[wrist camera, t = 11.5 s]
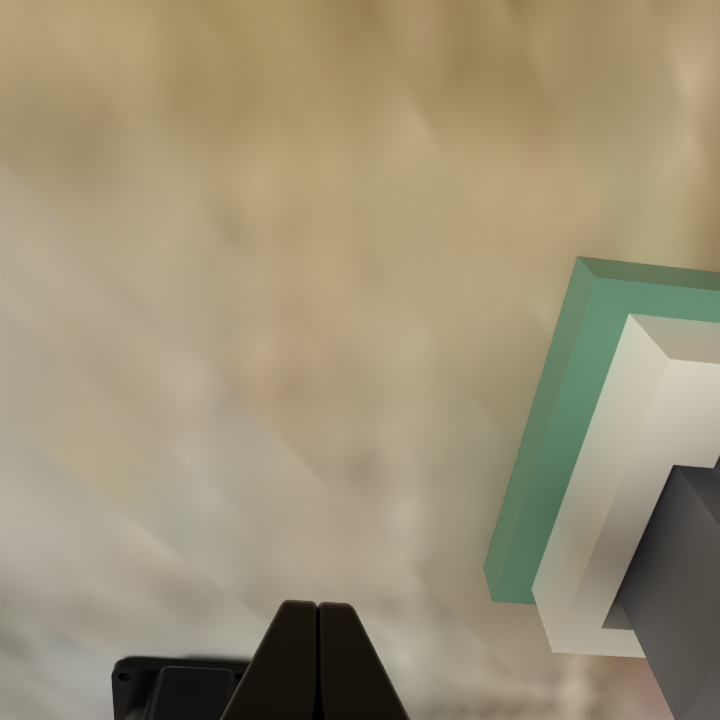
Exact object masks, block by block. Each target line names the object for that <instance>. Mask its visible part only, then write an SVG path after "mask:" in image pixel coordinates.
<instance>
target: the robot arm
mask: <svg viewBox="0 0 720 720" xmlns="http://www.w3.org/2000/svg"><path fill="white" fill-rule="evenodd" d="M111 678H112V692H113V706H114V720H410V719H409V717H408V715H407V713H406V711H405V709H404V707H403V705H402V703H401V701H400V699H399V697H398V695H397V693H396V691H395V689H394V687H393V685H392V683H391V681H390V679H389V677H388V675H387V673H386V671H385V669H384V667H383V665H382V663H381V661H380V659H379V657H378V655H377V653H376V651H375V649H374V647H373V645H372V643H371V641H370V639H369V637H368V635H367V633H366V631H365V629H364V627H363V625H362V623H361V621H360V619H359V617H358V615H357V613H356V611H355V609H354V608H353V607H352V606H351V605H350V604H347V603H334V602H322V603H320V604H319V605H318V607H317V605H316V603H314V602H312V601H300V600H286V601H284V602H283V603H282V604H281V606H280V607H279V609H278V611H277V613H276V615H275V617H274V619H273V620H272V622H271V624H270V626H269V628H268V630H267V632H266V634H265V636H264V637H263V639H262V641H261V643H260V645H259V647H258V649H257V651H256V653H255V655H254V656H253V658H252V660H251V662H250V664H249V665H232V664H212V663H193V662H173V661H154V660H135V659H122V660H120V661H117V662H116V663H115V666H114V669H113V672H112V676H111Z"/></svg>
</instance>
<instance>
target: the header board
mask: <svg viewBox="0 0 720 720" xmlns="http://www.w3.org/2000/svg"><path fill="white" fill-rule="evenodd" d="M719 456H720V273H717V272H708V271H699V270H690V269H682V268H673V267H664V266H655V265H647V264H638V263H629V262H620V261H611V260H603V259H594V258H585V257H577V260H576V263H575V267H574V270H573V273H572V277H571V280H570V283H569V287H568V290H567V293H566V297H565V300H564V303H563V307H562V310H561V313H560V317H559V320H558V323H557V327H556V330H555V333H554V337H553V340H552V343H551V347H550V350H549V353H548V357H547V360H546V363H545V367H544V370H543V373H542V377H541V380H540V383H539V387H538V390H537V393H536V397H535V400H534V403H533V407H532V410H531V413H530V417H529V420H528V423H527V427H526V430H525V433H524V437H523V440H522V443H521V446H520V450H519V453H518V456H517V460H516V463H515V466H514V470H513V473H512V476H511V480H510V483H509V486H508V490H507V493H506V496H505V500H504V503H503V506H502V510H501V513H500V516H499V520H498V523H497V526H496V530H495V533H494V536H493V540H492V543H491V546H490V550H489V553H488V556H487V560H486V563H485V566H484V571H485V575H486V579H487V582H488V586H489V590H490V594H491V598H492V601H494V602H510V603H526V604H536V605H537V608H538V611H539V614H540V617H541V620H542V623H543V626H544V629H545V632H546V635H547V638H548V641H549V644H550V647H551V650H552V653H569V654H587V655H605V656H623V657H641V658H646V656H645V654H644V652H643V650H642V648H641V646H640V643H639V641H638V639H637V637H636V635H635V633H634V630H633V628H632V626H631V624H630V622H629V620H628V618H627V615H626V613H625V611H624V609H623V607H622V605H621V602H620V600H619V598H618V596H617V591H618V589H619V587H620V585H621V582H622V580H623V578H624V576H625V573H626V571H627V569H628V566H629V564H630V562H631V560H632V557H633V555H634V553H635V551H636V548H637V546H638V544H639V542H640V539H641V537H642V535H643V532H644V530H645V528H646V526H647V523H648V521H649V519H650V517H651V514H652V512H653V510H654V507H655V505H656V503H657V501H658V498H659V496H660V494H661V492H662V489H663V487H664V485H665V482H666V480H667V478H668V476H669V473H670V471H671V469H672V467H673V465H682V466H694V467H706V468H714V466H715V464H716V462H717V460H718V458H719Z"/></svg>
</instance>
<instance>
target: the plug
mask: <svg viewBox="0 0 720 720" xmlns="http://www.w3.org/2000/svg"><path fill="white" fill-rule="evenodd" d="M617 596H618V598H619V600H620V602H621V605H622V607H623V609H624V611H625V613H626V615H627V618H628V620H629V622H630V624H631V626H632V628H633V630H634V633H635V635H636V637H637V639H638V641H639V643H640V646H641V648H642V650H643V652H644V654H645V656H646V658H647V661H648V663H649V665H650V667H651V669H652V671H653V674H654V676H655V678H656V680H657V682H658V684H659V686H660V689H661V691H662V693H663V695H664V697H665V699H666V702H667V704H668V706H669V708H670V710H671V712H672V714H673V717H674V719H675V720H720V456H719V458H718V460H717V462H716V464H715V466H714V468H706V467H694V466H682V465H673V467H672V469H671V471H670V473H669V476H668V478H667V480H666V482H665V485H664V487H663V489H662V492H661V494H660V496H659V498H658V501H657V503H656V505H655V507H654V510H653V512H652V514H651V517H650V519H649V521H648V523H647V526H646V528H645V530H644V532H643V535H642V537H641V539H640V542H639V544H638V546H637V548H636V551H635V553H634V555H633V557H632V560H631V562H630V564H629V566H628V569H627V571H626V573H625V576H624V578H623V580H622V582H621V585H620V587H619V589H618V591H617Z"/></svg>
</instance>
